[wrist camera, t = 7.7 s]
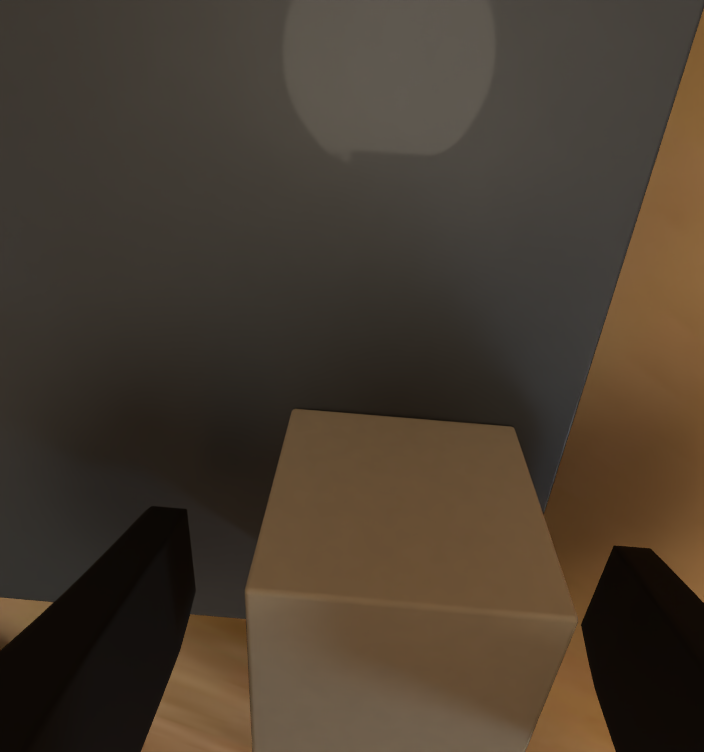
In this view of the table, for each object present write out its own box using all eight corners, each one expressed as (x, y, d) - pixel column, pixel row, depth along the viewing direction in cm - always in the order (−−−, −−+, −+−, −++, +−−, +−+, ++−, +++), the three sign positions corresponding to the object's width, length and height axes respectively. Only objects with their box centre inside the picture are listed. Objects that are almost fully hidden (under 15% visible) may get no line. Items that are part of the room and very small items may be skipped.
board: (497, 606, 14) (504, 643, 13) (17, 564, 14) (-7, 598, 13) (715, -143, 7) (761, -168, 6) (-241, -207, 7) (-327, -243, 6)
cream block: (476, 578, 12) (511, 789, 9) (290, 561, 12) (252, 765, 9) (515, 424, 10) (582, 620, 7) (291, 406, 10) (242, 591, 7)
